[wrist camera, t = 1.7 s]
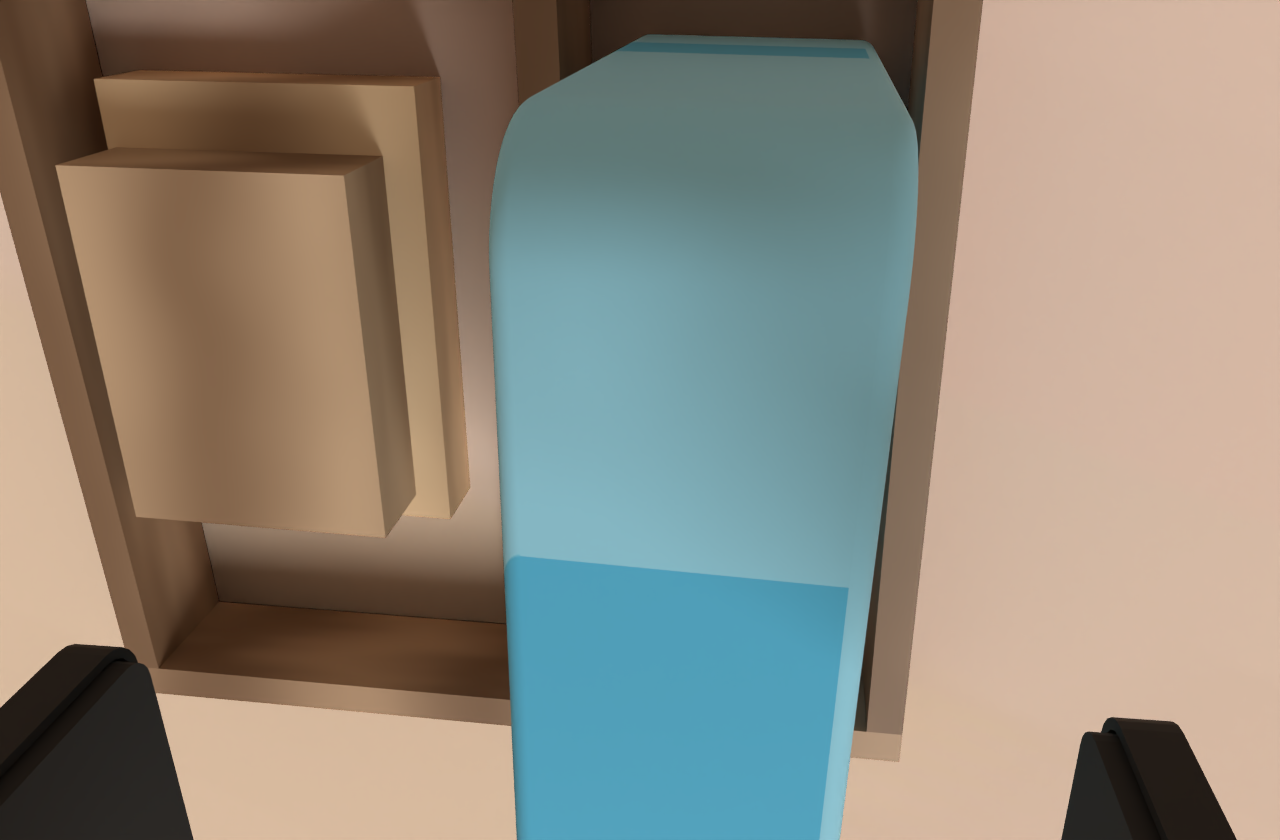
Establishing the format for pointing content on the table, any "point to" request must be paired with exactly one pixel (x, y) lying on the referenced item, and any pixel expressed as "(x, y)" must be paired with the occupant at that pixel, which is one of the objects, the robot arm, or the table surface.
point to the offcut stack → (275, 297)
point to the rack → (399, 645)
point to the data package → (696, 429)
